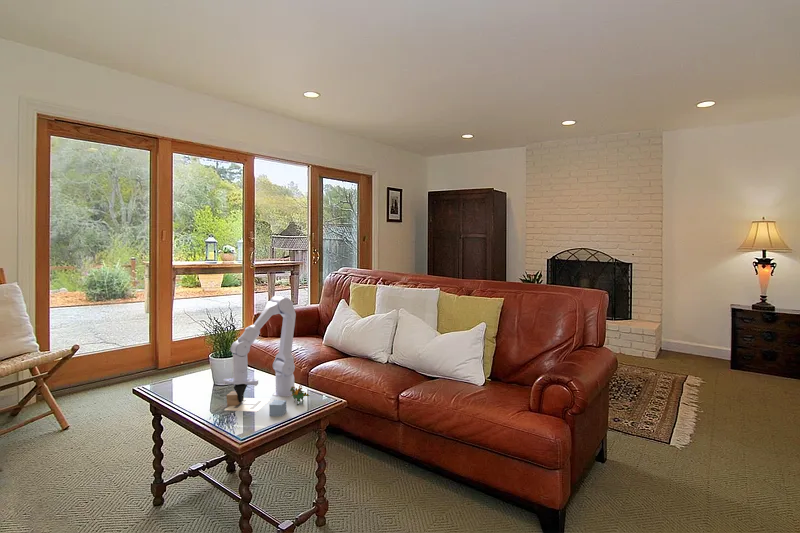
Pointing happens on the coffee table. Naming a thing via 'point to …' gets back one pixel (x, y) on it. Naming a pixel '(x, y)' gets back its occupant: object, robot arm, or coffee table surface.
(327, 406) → the coffee table surface
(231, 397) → the walnut block
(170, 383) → the coffee table surface
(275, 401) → the blue cube
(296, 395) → the figurine
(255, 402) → the letter mat
